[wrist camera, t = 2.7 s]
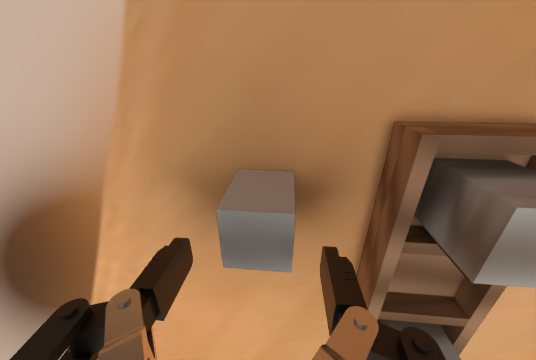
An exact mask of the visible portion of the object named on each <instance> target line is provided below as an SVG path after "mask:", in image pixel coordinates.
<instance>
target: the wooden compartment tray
mask: <svg viewBox="0 0 536 360" xmlns="http://www.w3.org/2000/svg"><path fill="white" fill-rule="evenodd" d="M357 279H358V282H359V285H360V288H361V291H362V294H363V297H364V300H365V303H366V306H367V308H368V310H369V312H371V313H372V314H373V316H374V317H375V318H376V320H377V321H379V322H380V323H382V324H384V325H386V326H388V327H391V328H394V329H396V330H399V331H401V332H402V330H403V329H404V328H406V327H416V328H419V329H421V330H423V331H425V332H426V333H428V334H429V335H430V336H431V337H432V338H433V339H434V340H435V341H436V342H437V344H438V345H439V347H440V349H441V351H442V353H443V355H444V357H445V359H446V360H461V359H460V357H459V355H460V353H461V352H462V350H463V349H464V348H465V346H466V345H467V343H468V342H469V340H470V339H471V337H472V336H473V334H474V333H475V332H476V330H477V329H478V327H479V326H480V324H481V323H482V321H483V320H484V319H485V317H486V316H487V314H488V313H489V311H490V310H491V308H492V307H493V305H494V304H495V303H496V301H497V300H498V298H499V297H500V295H501V294H502V292H503V291H504V290H505V288H506V287H507V286H517V287H530V288H536V124H489V123H429V122H395V125H394V129H393V133H392V137H391V141H390V145H389V149H388V153H387V157H386V161H385V165H384V169H383V173H382V177H381V181H380V185H379V189H378V193H377V197H376V202H375V206H374V210H373V214H372V218H371V222H370V226H369V230H368V234H367V238H366V242H365V246H364V250H363V254H362V258H361V262H360V266H359V270H358V274H357Z"/></svg>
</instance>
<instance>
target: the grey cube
mask: <svg viewBox="0 0 536 360" xmlns="http://www.w3.org/2000/svg"><path fill="white" fill-rule="evenodd" d="M216 214H217V222H218V230H219V238H220V246H221V254H222V262H223V267H226V268H239V269H253V270H266V271H279V272H292V257H293V242H294V226H295V191H294V171H273V170H245V169H238V171H237V173H236V175H235V176H234V178H233V180H232V182H231V184H230V185H229V187H228V189H227V191H226V193H225V195H224V196H223V198H222V200H221V202H220V204H219V206H218V207H217V209H216Z"/></svg>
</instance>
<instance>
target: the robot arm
mask: <svg viewBox="0 0 536 360" xmlns="http://www.w3.org/2000/svg"><path fill="white" fill-rule="evenodd" d="M192 263H193V256H192V251H191V246H190V241H189V239H188V238H174V239H173V241H172V242H171V243H170V245H169V246H164V247H163V248H162V249H160V250H159V251H158V252H157V253H156V254H155V256H154V257H153V258H152V260H151V261H150V262H149V263H148V266H146V267H145V269H144V270H143V271H142V273H141V274H140V275H139V277H138V278H137V279H136V281H135V282H134V283H133V285H132V286H131V287H130V288H129V289H126V290H123V291H121V292H119V293H117V294H116V295H115V296H113V297H112V298H111V299H110V301H108V302H103V303H99V304H94V305H90V304H89V302H88V301H87V300H86V299H75V300H72V301H70V302H68V303H66V304H64V305H62V306H61V307H60V308H58V309H57V310H56V311H55V312H54V313H53V314H52V315H51V316H50V317H49V319H48V320H47V321H46V322H45V323H44V324H43V325H42V326H41V327H40V328H39V329H38V330H37V331H36V332H35V333H34V334H33V335H32V337H31V338H30V339H29V340H28V341H27V342H26V343H25V344H24V345H23V346H22V347H21V349H19V350H18V352H17V353H16V354H15V355H14V356H13V357H12V358H11V359H10V360H58V359H59V358H60V356H61V355H62V354H63V353H64V351H65V350H66V349H67V351H66V352H65V353H64V355H63V356H62V357H61V359H60V360H97V359H98V360H157V355H156V348H155V341H154V335H153V329H152V325H153V324H154V322H155V320H160V321H164V319H165V317H166V315H167V313H168V311H169V309H170V307H171V306H172V304H173V302H174V300H175V298H176V296H177V294H178V292H179V290H180V288H181V286H182V284H183V282H184V280H185V278H186V277H187V275H188V273H189V271H190V269H191V266H192ZM320 278H321V284H322V290H323V297H324V303H325V310H326V316H327V322H328V329H329V335H330V338H329V339H328V341H327V343H326V344H325V345H322V346H321V347H320V348H319V349H318V351H317V352H316V354H315V356H314V357H313V359H312V360H446V359H445V357H444V355H443V353H442V351H441V349H440V347H439V345H438V344H437V342H436V341H435V340H434V339H433V338H432V337H431V336H430V335H429V334H428V333H426V332H425V331H423V330H421V329H419V328H416V327H406V328H404V329H403V330H402V332H401V331H399V330H396V329H394V328H391V327H388V326H386V325H384V324H382V323H380V322H379V321H377V320H376V318H375V317H374V316H373V314H372V313H371V312H369V310H368V308H367V306H366V303H365V300H364V297H363V294H362V291H361V288H360V285H359V282H358V279H357V276H356V274H355V271H354V268H353V265H352V263H351V262H350V261H349V260H348V259H347V257H339V254H338V250H337V248H336V247H327V246H323V248H322V256H321V263H320Z"/></svg>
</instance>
